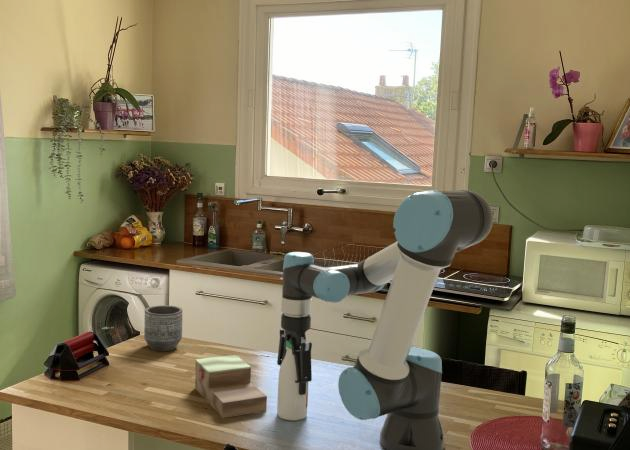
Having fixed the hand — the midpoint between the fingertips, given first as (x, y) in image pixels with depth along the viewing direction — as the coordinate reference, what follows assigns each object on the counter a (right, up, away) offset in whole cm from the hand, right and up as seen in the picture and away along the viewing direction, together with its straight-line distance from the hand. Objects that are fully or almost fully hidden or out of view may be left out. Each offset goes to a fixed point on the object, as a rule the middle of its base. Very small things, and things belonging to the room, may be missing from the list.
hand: (292, 399), depth 181 cm
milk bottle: (0, -4, +1) cm, 4 cm away
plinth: (-17, -2, +9) cm, 20 cm away
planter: (-44, +4, +51) cm, 68 cm away
